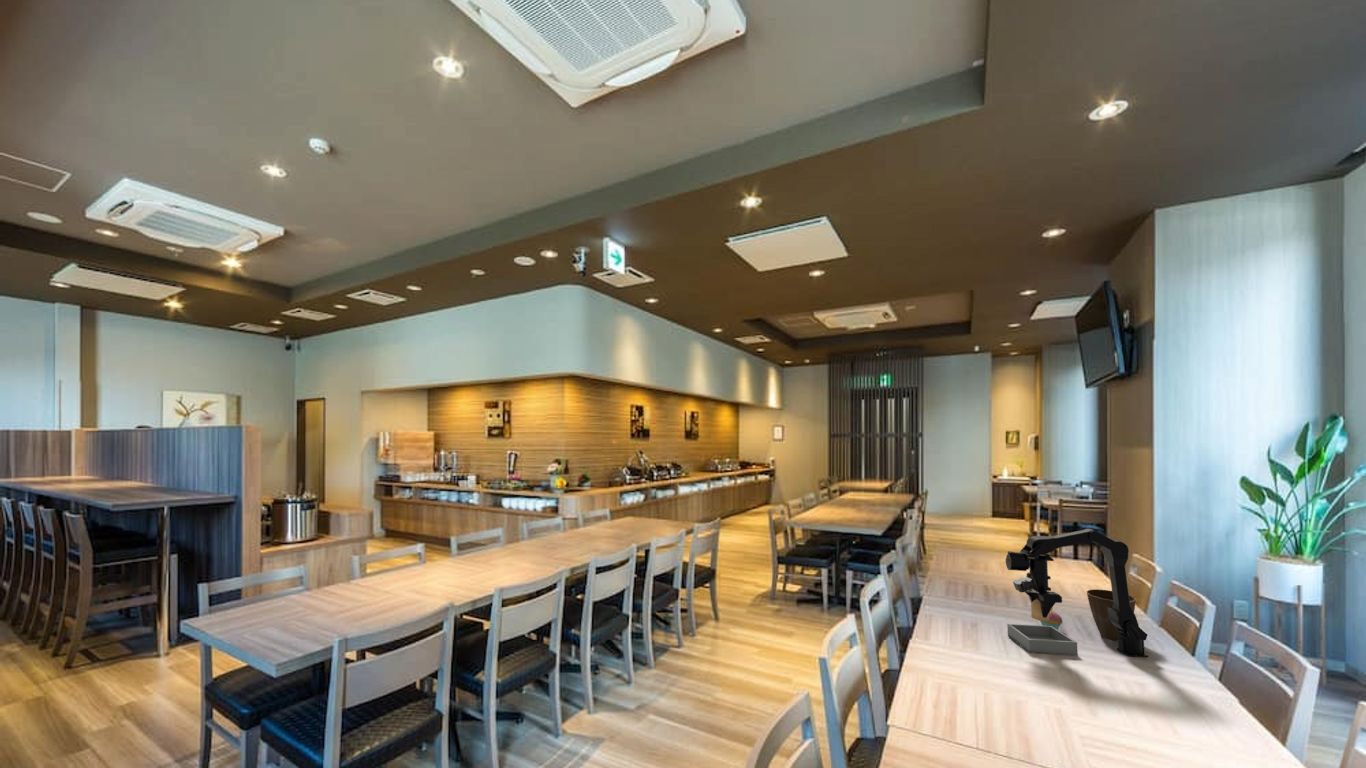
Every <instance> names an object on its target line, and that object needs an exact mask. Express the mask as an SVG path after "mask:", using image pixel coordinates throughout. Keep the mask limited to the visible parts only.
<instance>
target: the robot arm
mask: <svg viewBox="0 0 1366 768" xmlns="http://www.w3.org/2000/svg"><path fill="white" fill-rule="evenodd" d="M1090 542H1092V543H1094V544H1095V545H1097V546H1099V547H1100V548H1101V551H1102V554H1103V556H1104V558H1105V559H1106V562H1107V563H1108V568H1109V576H1110V585H1111V591H1112V594H1113V602H1114V603H1113V606H1112V608H1107V610H1108V613H1109V616H1108V619H1110V620H1111V623H1112V624H1113V625H1114V626H1116V629H1117V630H1118V631H1120V632H1121V633H1119V638H1118V641H1117V644H1118V645H1117V646H1118V647H1116V649H1117V650H1118V651H1119V652H1121V653H1123V654H1124V655H1126V656H1129V657H1142V658H1148V657H1149V655H1148V654H1146V653H1145V641H1146V640H1147V638H1148V634H1147V633H1146V632H1145V630H1143V629H1142V628H1141V627H1140V626H1139V623H1138V619H1137V616H1136V614H1135V611H1134V612H1133V610H1132V609H1131V607H1130V601H1129V587H1128V580H1127V578H1128V577H1127V572H1126V565H1127V563H1128V560H1129V547H1128V545H1127V544H1126V543H1124V542H1123V541H1120V540H1117V539H1115V538H1111V537H1107V536H1105V535H1103V534H1101V533H1100V532H1098V531H1097V530H1094V529H1091V528H1085V529H1082V530H1075V531H1073V532H1072V531H1071V532H1067V533H1062V534H1057V535H1052V536H1049V535H1033V536H1032V535H1031V536H1029V537H1028V538H1027V539H1026V542H1025V543H1026V544H1025V545H1024V546H1023V547H1022V548H1021V550H1020V552H1019V551H1010V550H1008V551H1007V554H1006V558H1005V565H1006V568H1007V570H1008V571H1018V572H1019V571H1020V572H1026V571H1028V570H1029V572H1027V573H1026V575H1025V577H1020V578H1018V579H1014V580H1012V584H1013V586H1014V588H1015V590H1016V591H1018V592H1019V593H1025V594H1026V595H1027V596H1028V598H1029V600H1030V603H1031V604H1032V602H1033V601H1034V600H1036V599H1037V600H1038V601H1039V602H1040V605H1041V611H1042V616H1043V617H1044V618H1046V617H1047V615H1048V614H1049V612H1050V610H1051V608H1052V609H1053V608H1054V605H1055V604H1057V603H1058V604H1062V603H1063V597H1062V595H1060V594H1059V593H1057V592H1055V591H1052V587H1050V586H1049V580H1051V576H1050V575H1049V570H1048V562H1054V561H1055V559H1054V558H1053V557H1051V555H1050V553H1052V552H1054V551H1055V550H1057V549H1059V548H1064V547H1070V546H1074V545H1080V544H1085V543H1090Z"/></svg>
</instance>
